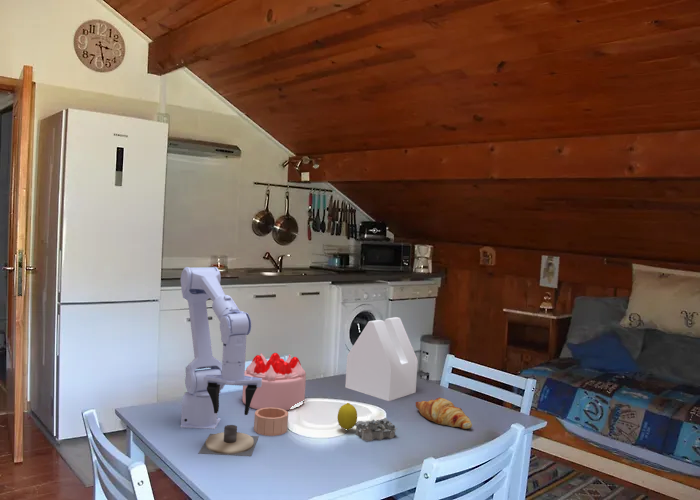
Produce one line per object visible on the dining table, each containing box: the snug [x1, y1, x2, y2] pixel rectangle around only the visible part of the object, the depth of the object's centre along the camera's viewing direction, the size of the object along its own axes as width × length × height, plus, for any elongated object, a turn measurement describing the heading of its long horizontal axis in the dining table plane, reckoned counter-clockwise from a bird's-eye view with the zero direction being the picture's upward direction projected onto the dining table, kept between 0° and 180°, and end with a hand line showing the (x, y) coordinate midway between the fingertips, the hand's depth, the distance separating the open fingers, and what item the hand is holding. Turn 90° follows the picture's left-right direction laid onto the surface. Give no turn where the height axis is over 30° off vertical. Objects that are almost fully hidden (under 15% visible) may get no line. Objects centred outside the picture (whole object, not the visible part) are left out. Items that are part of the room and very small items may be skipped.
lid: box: [205, 424, 254, 454], centre depth 153 cm, size 12×12×4 cm
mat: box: [197, 433, 259, 457], centre depth 153 cm, size 13×13×1 cm
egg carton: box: [354, 417, 398, 442], centre depth 167 cm, size 11×8×4 cm
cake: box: [241, 352, 307, 411], centre depth 190 cm, size 20×20×14 cm
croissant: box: [415, 397, 473, 430], centre depth 182 cm, size 21×10×8 cm, turn 45°
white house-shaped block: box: [344, 316, 419, 402], centre depth 209 cm, size 19×15×25 cm
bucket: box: [253, 407, 289, 437], centre depth 165 cm, size 9×9×5 cm
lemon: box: [337, 402, 358, 431], centre depth 168 cm, size 6×6×8 cm
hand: (231, 412), depth 153 cm, fingers open, 7 cm apart
